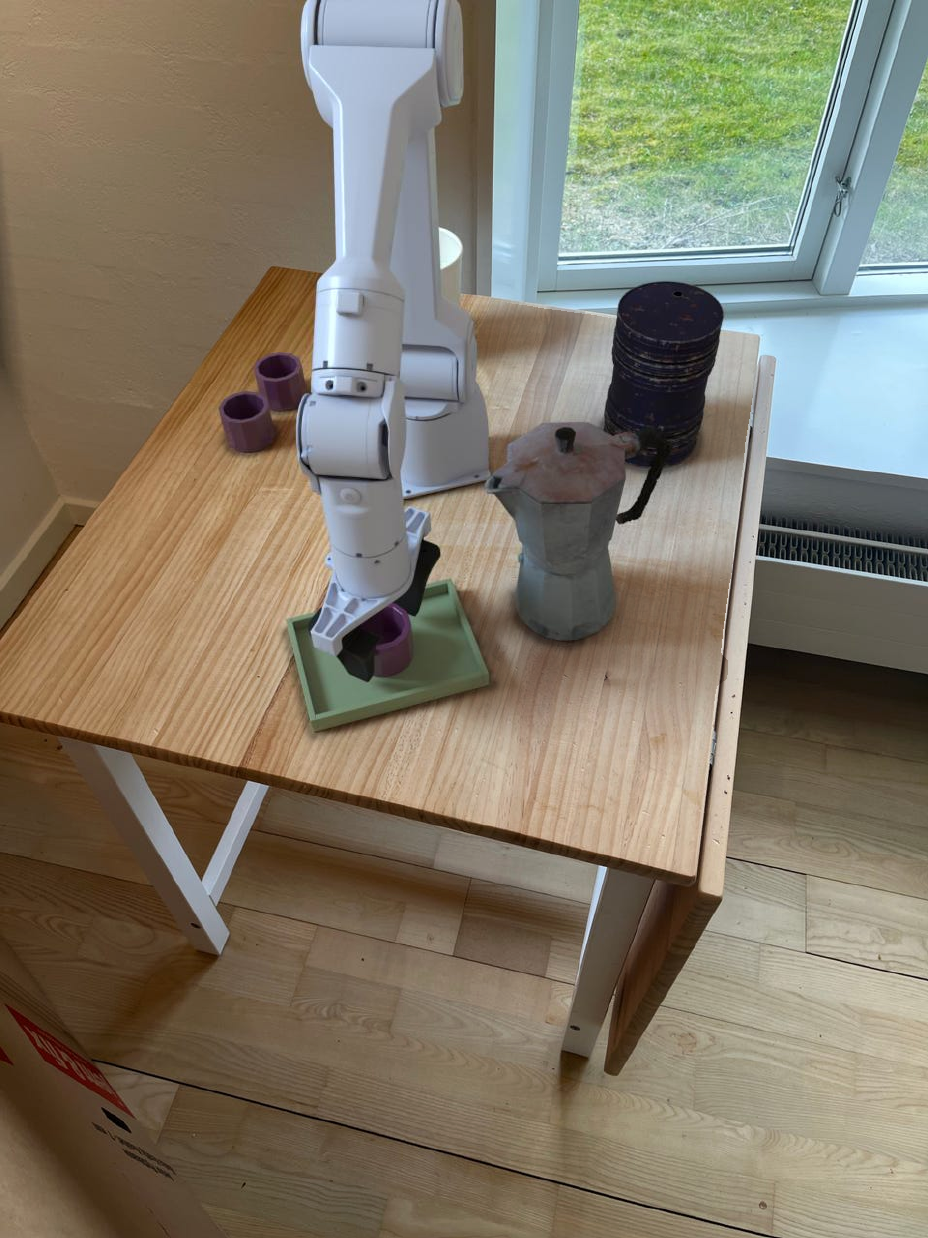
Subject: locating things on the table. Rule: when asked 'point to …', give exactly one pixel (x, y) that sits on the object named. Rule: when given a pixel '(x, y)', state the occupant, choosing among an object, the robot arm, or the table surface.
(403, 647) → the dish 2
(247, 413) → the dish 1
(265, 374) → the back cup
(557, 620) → the moka pot
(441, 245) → the white paper cup
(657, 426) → the storage jar
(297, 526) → the table surface
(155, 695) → the table surface
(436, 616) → the tray
